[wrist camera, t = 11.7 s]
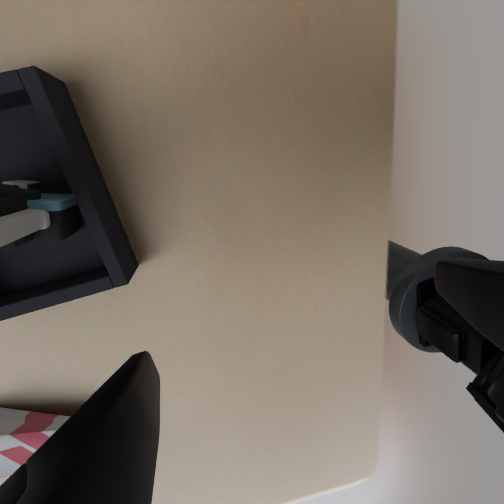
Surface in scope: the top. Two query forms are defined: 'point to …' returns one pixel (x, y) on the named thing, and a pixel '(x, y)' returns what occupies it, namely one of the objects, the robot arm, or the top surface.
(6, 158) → the black hollow square tray
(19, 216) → the push button
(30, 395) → the top surface
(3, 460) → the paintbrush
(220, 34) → the top surface
